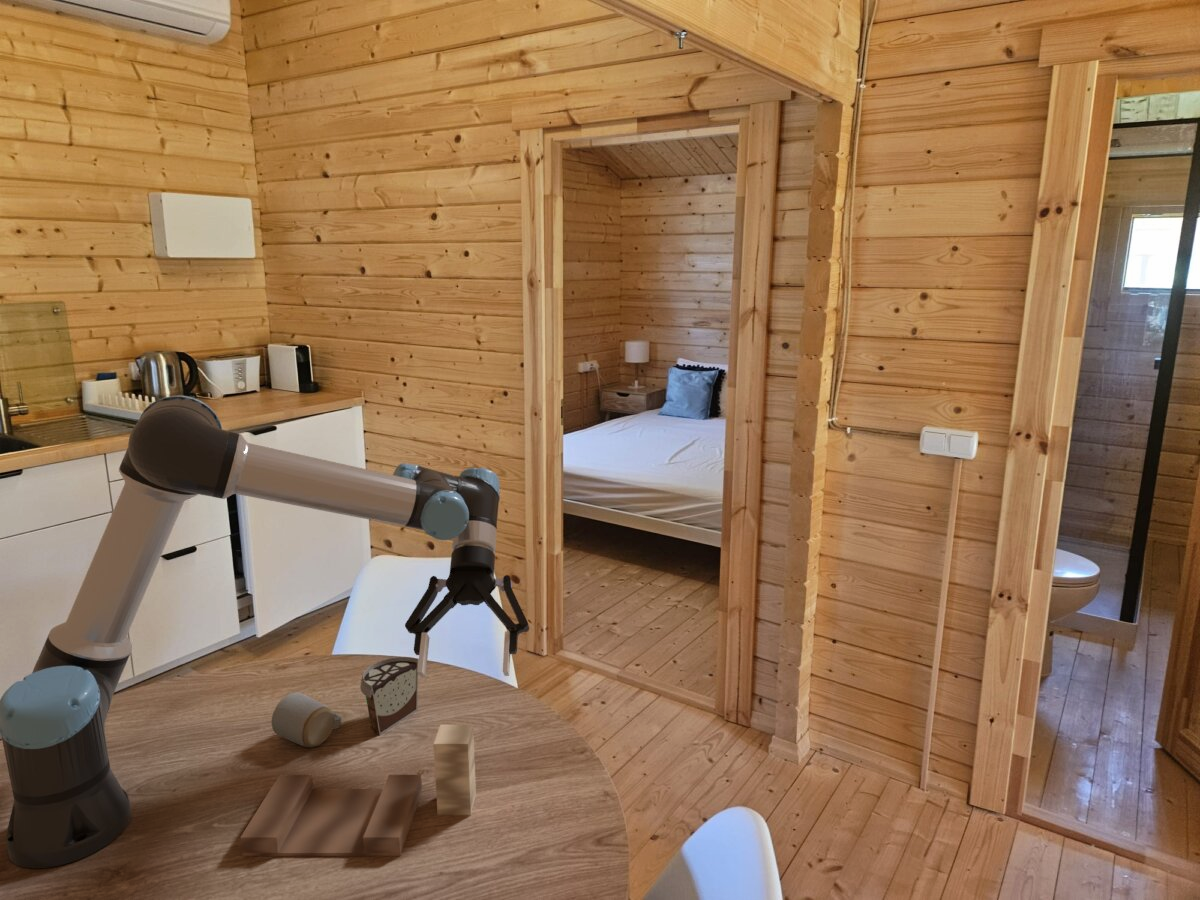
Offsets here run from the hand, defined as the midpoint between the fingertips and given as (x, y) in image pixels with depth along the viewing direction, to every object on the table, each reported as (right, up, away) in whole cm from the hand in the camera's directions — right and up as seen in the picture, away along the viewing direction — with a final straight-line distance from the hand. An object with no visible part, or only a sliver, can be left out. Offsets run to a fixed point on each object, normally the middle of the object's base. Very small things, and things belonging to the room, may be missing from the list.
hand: (463, 674), depth 129 cm
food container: (-17, -13, +17) cm, 27 cm away
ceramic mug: (-29, -14, +12) cm, 34 cm away
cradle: (-17, -19, -10) cm, 27 cm away
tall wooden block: (0, -18, -6) cm, 19 cm away
